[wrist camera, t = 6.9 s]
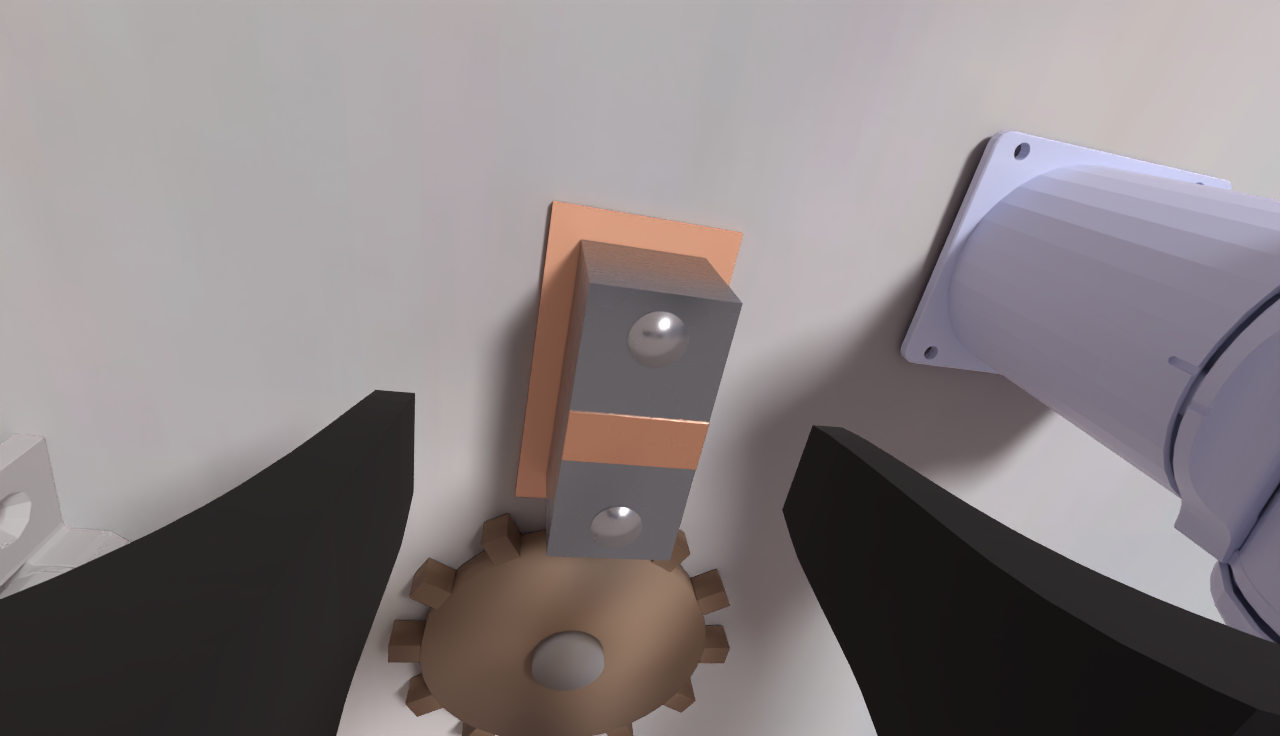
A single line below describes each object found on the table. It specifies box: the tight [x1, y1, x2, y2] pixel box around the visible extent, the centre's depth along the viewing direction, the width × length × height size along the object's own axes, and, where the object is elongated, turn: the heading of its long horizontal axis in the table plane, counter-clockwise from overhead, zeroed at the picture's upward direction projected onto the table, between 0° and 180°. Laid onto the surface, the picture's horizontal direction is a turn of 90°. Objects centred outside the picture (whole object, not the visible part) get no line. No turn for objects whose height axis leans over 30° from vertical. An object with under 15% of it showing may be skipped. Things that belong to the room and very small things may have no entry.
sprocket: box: [388, 514, 730, 736], centre depth 25 cm, size 14×14×2 cm
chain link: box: [546, 239, 743, 561], centre depth 19 cm, size 4×9×4 cm, turn 169°
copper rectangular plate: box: [515, 201, 743, 498], centre depth 21 cm, size 6×11×1 cm, turn 169°
